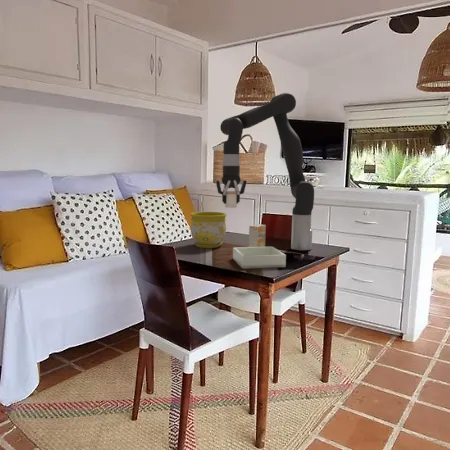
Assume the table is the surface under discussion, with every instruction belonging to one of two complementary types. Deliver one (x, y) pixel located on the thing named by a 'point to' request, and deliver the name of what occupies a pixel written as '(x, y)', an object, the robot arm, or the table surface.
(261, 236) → the supplement box
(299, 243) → the robot arm
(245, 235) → the table surface
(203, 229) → the flowerpot
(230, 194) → the dressing jar
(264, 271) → the table surface
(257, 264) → the bin
